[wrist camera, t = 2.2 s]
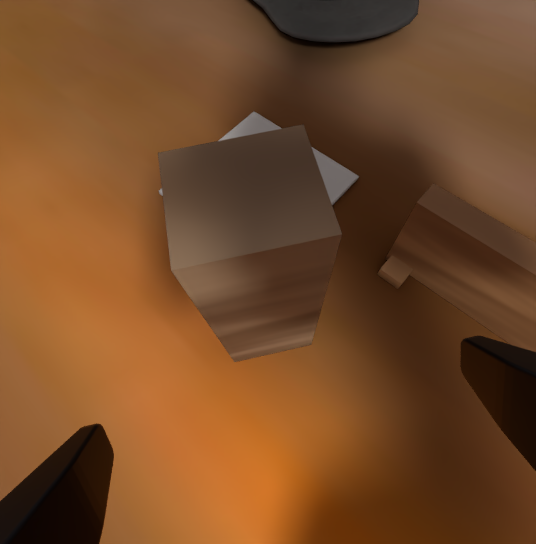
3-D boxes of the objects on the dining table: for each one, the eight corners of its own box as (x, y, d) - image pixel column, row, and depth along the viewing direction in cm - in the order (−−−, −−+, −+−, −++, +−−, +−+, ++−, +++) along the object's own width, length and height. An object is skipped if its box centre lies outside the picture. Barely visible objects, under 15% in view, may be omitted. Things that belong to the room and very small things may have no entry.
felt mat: (263, 277, 23) (263, 275, 22) (159, 193, 26) (158, 190, 25) (357, 178, 25) (358, 176, 25) (254, 114, 28) (254, 111, 28)
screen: (605, 436, 18) (743, 436, 13) (373, 272, 22) (401, 219, 17) (635, 375, 19) (774, 351, 14) (409, 229, 24) (446, 167, 18)
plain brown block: (311, 344, 21) (342, 234, 9) (234, 362, 20) (171, 270, 9) (293, 280, 22) (302, 122, 11) (223, 296, 22) (157, 150, 11)
